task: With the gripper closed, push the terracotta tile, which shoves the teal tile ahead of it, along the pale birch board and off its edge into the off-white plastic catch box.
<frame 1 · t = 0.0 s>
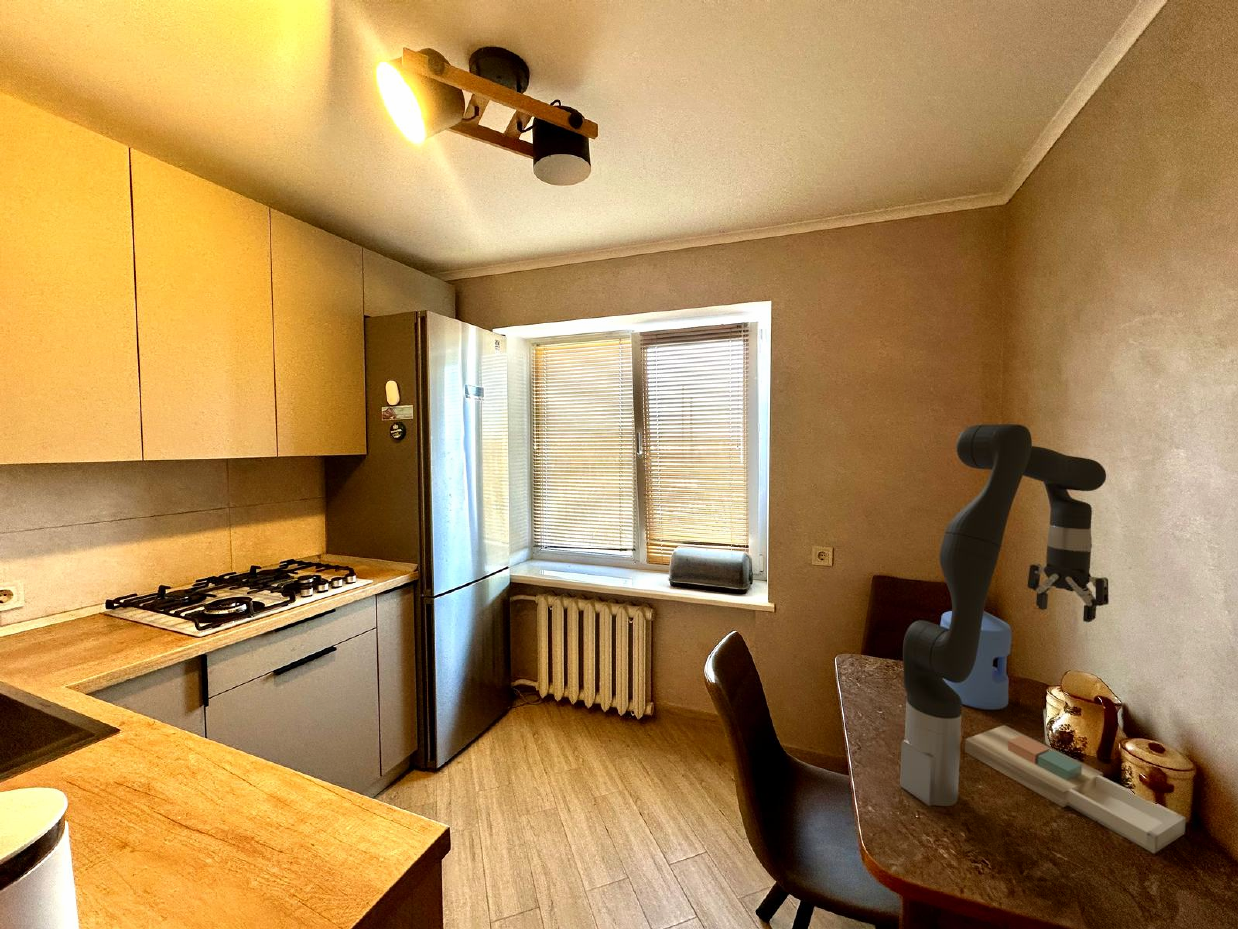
hand: (1064, 615, 115), 29 cm above the table, fingers open, 8 cm apart
catch box: (1123, 819, 92), on the table
teal tile: (1059, 769, 101), point 3 cm above the table, touching birch board
birch board: (1029, 768, 105), on the table
water jug: (971, 696, 135), on the table
terracotta tile: (1028, 753, 106), point 3 cm above the table, touching birch board
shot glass: (1061, 746, 114), on the table
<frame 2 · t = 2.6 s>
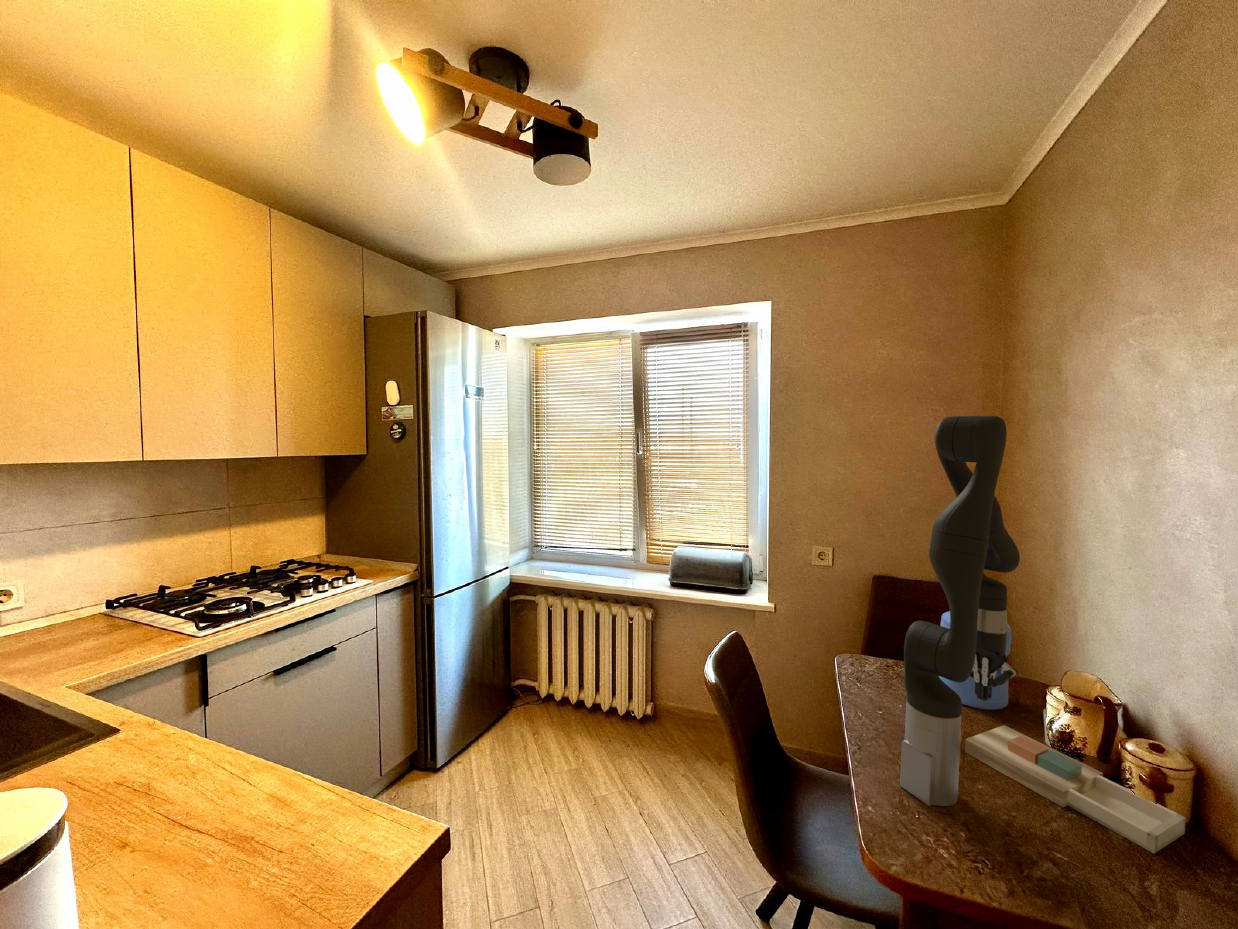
hand: (983, 699, 114), 10 cm above the table, fingers closed
nothing on the table moved.
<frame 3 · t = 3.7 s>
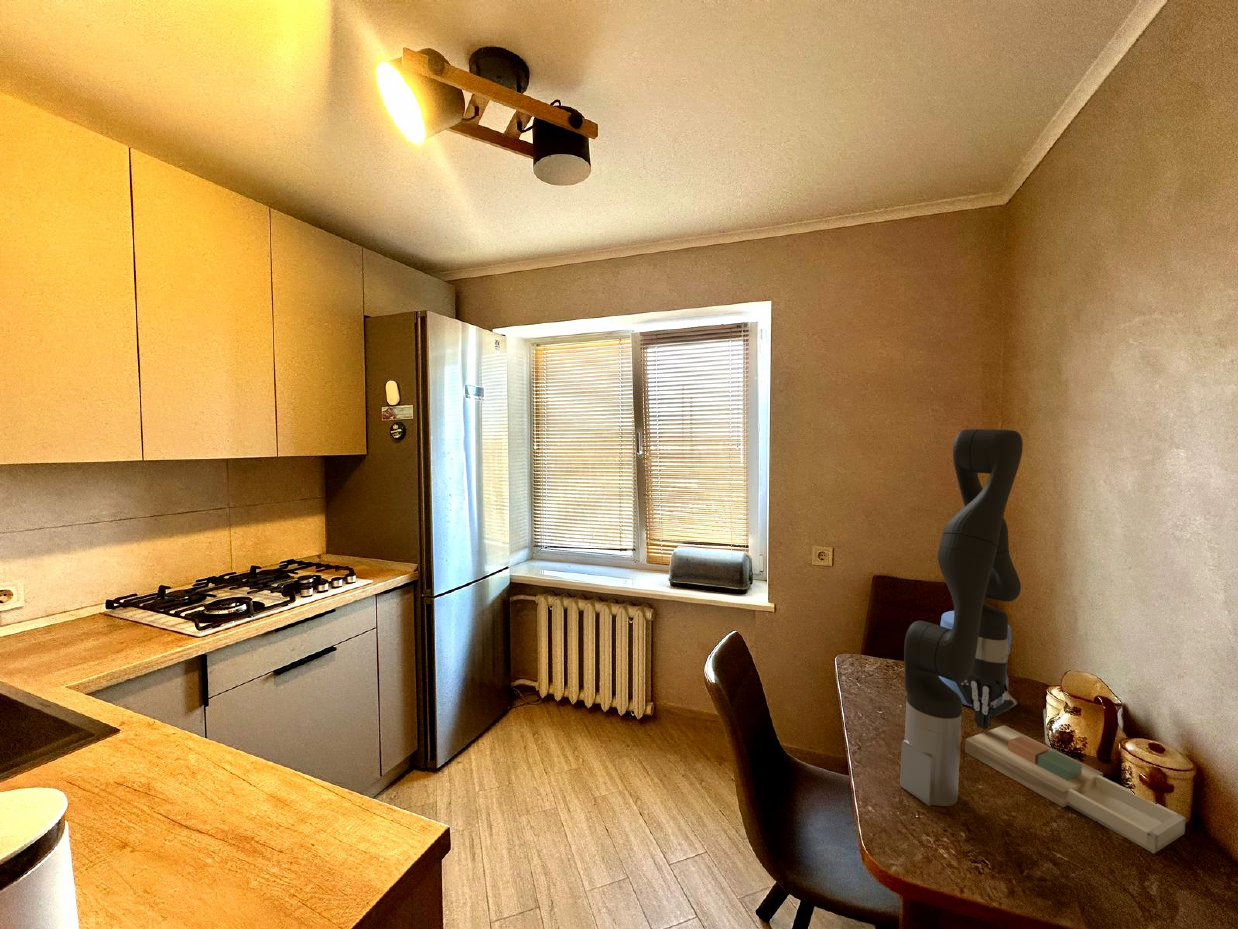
hand: (983, 727, 114), 4 cm above the table, fingers closed
nothing on the table moved.
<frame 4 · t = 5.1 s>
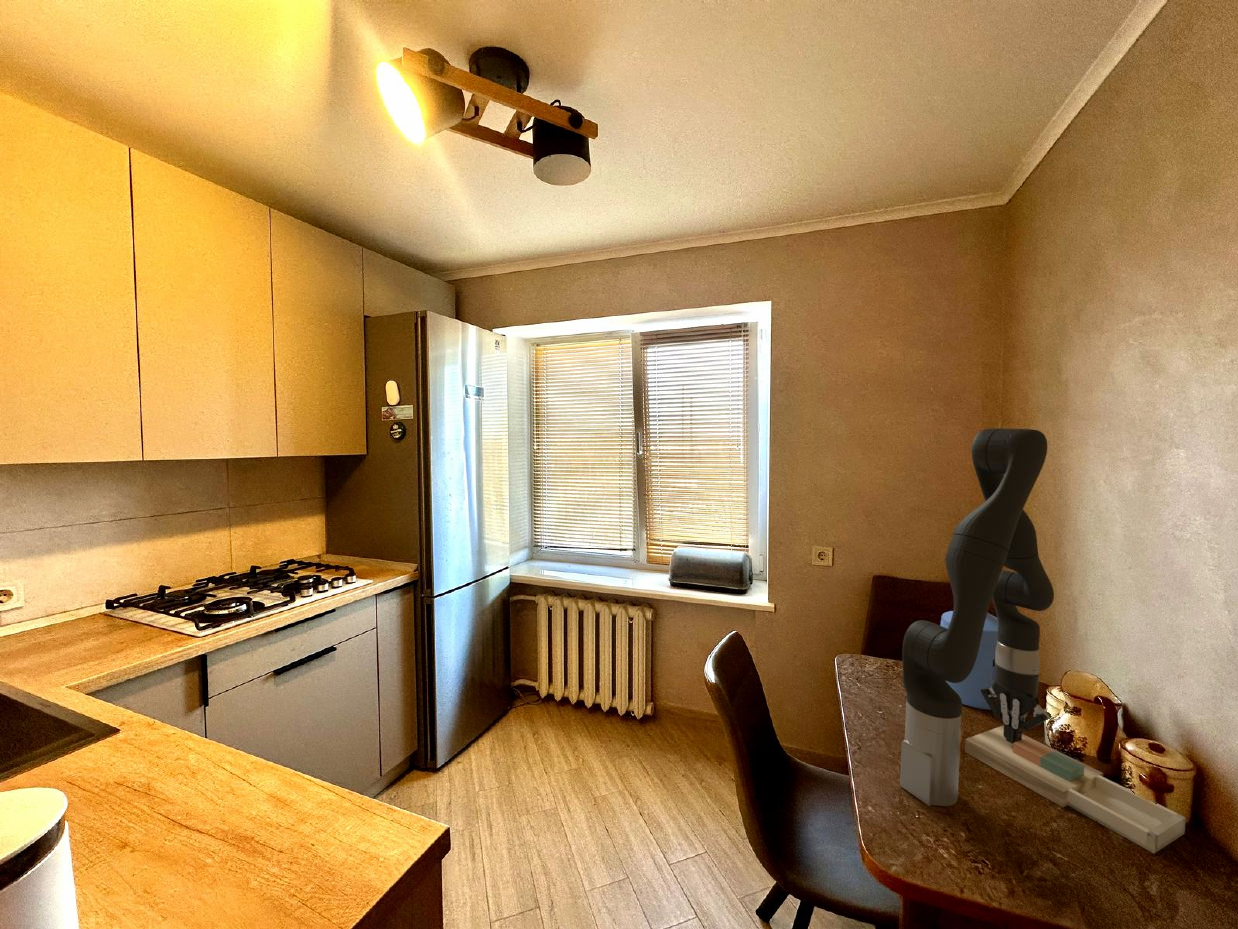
hand: (1012, 742, 108), 4 cm above the table, fingers closed
teal tile: (1061, 771, 100), point 3 cm above the table
terracotta tile: (1033, 756, 105), point 3 cm above the table, touching birch board, gripper
everything else where it was.
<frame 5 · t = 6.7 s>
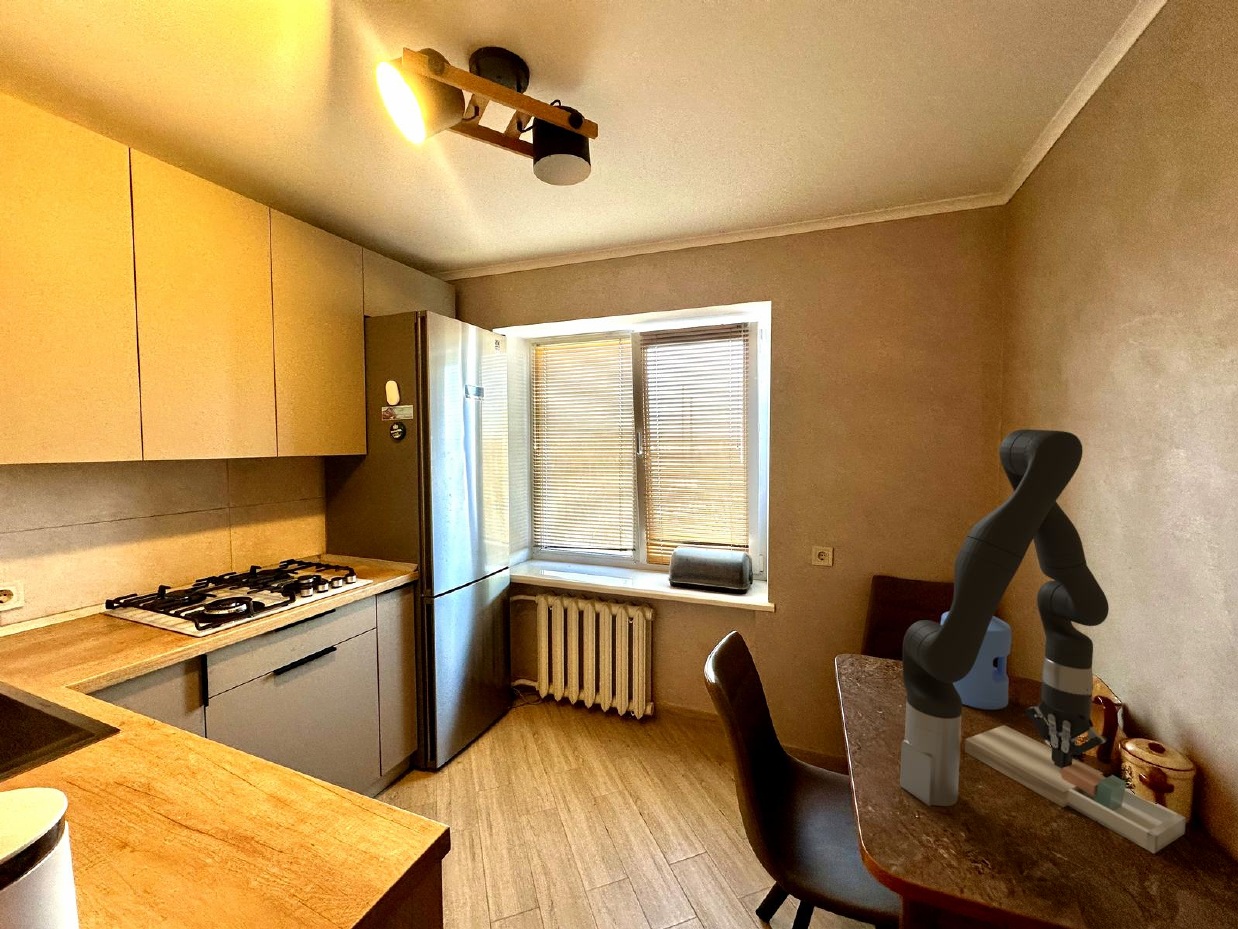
hand: (1061, 766, 100), 4 cm above the table, fingers closed
teal tile: (1103, 790, 94), point 3 cm above the table, tilted 95°, touching terracotta tile
terracotta tile: (1084, 783, 97), point 3 cm above the table, touching gripper, teal tile
everything else where it was.
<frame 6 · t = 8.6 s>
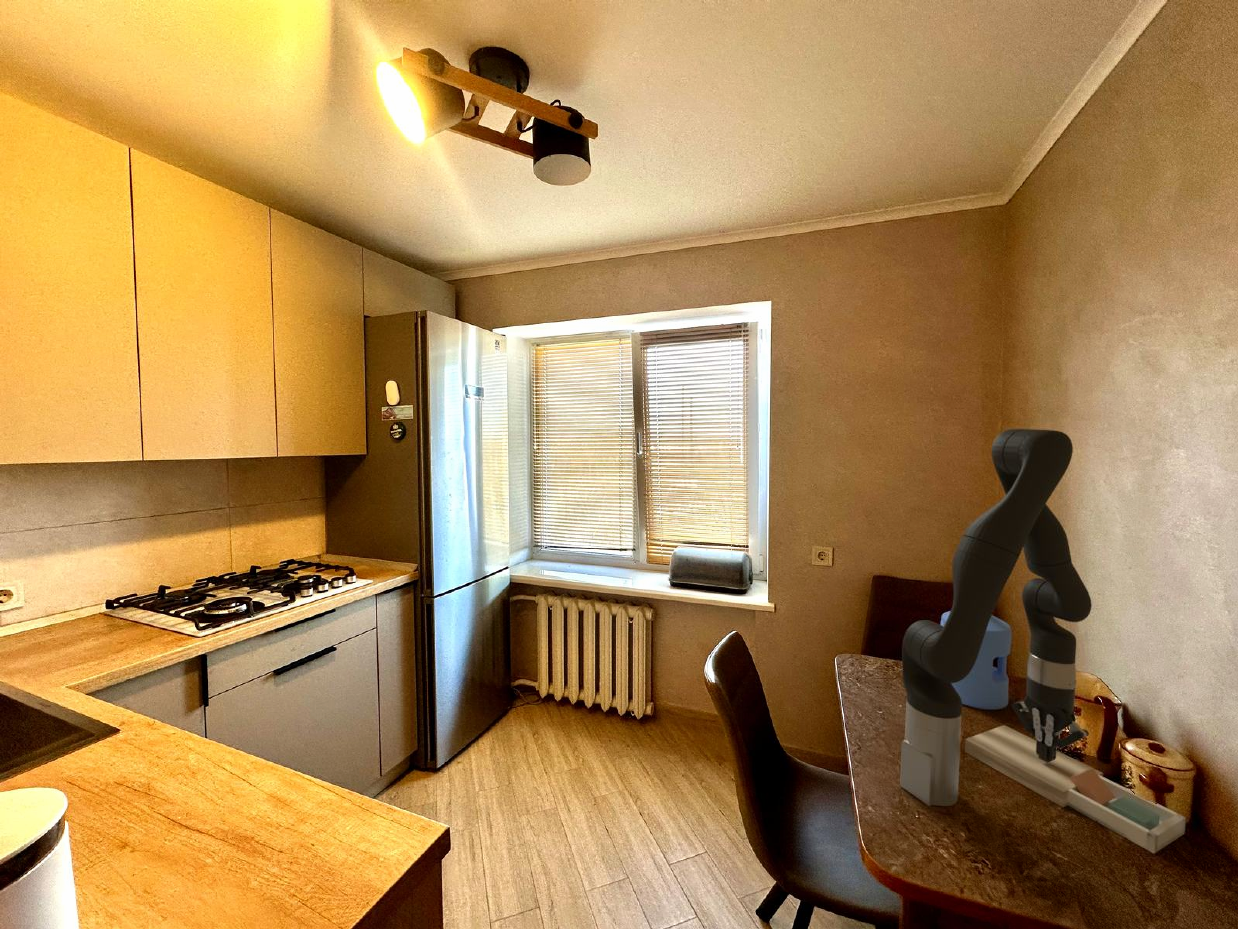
hand: (1045, 759, 103), 4 cm above the table, fingers closed
teal tile: (1133, 809, 90), point 3 cm above the table, tilted 180°, touching catch box
terracotta tile: (1087, 788, 96), point 2 cm above the table, tilted 44°, touching birch board, catch box
everything else where it was.
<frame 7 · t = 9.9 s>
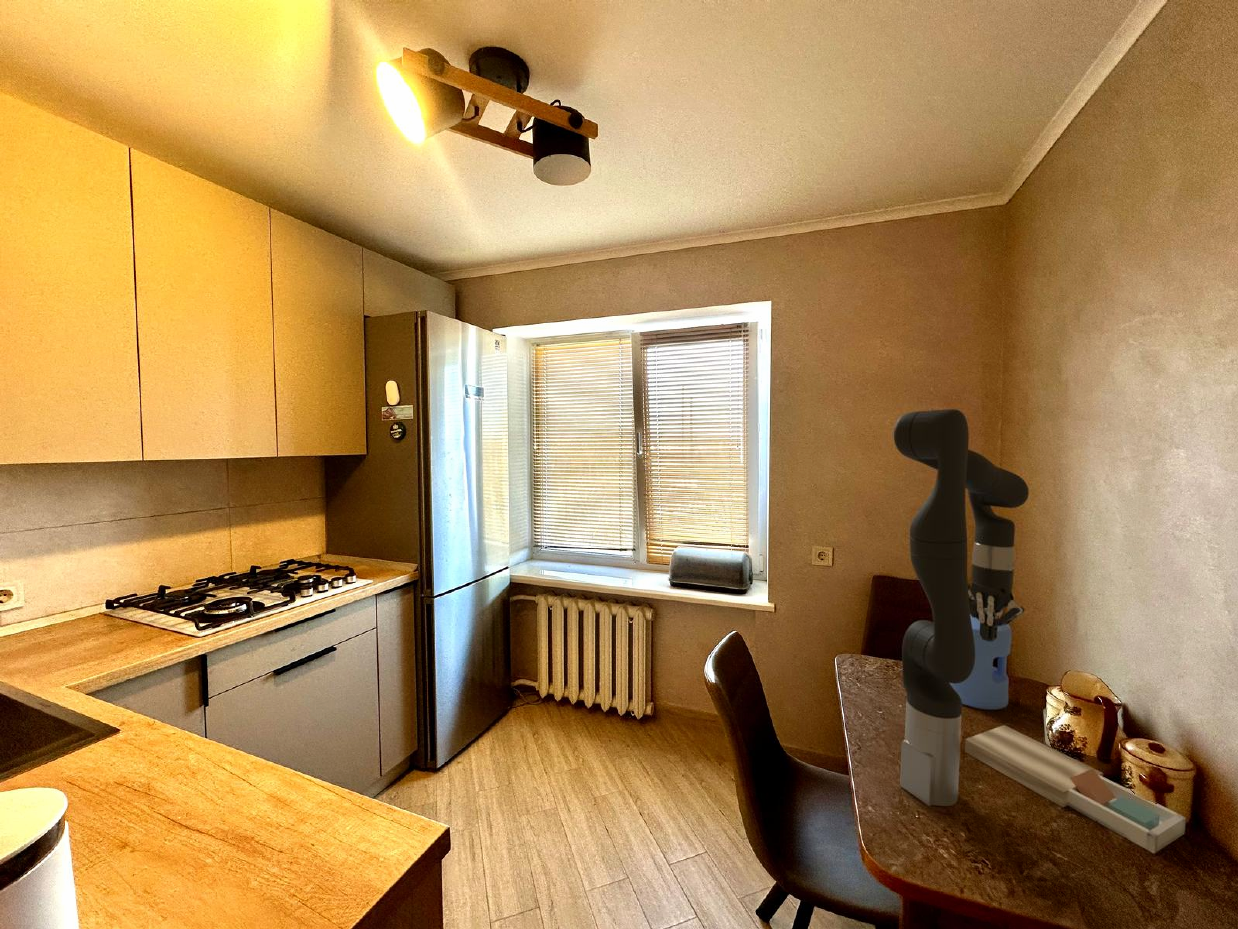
hand: (988, 640, 111), 25 cm above the table, fingers closed
nothing on the table moved.
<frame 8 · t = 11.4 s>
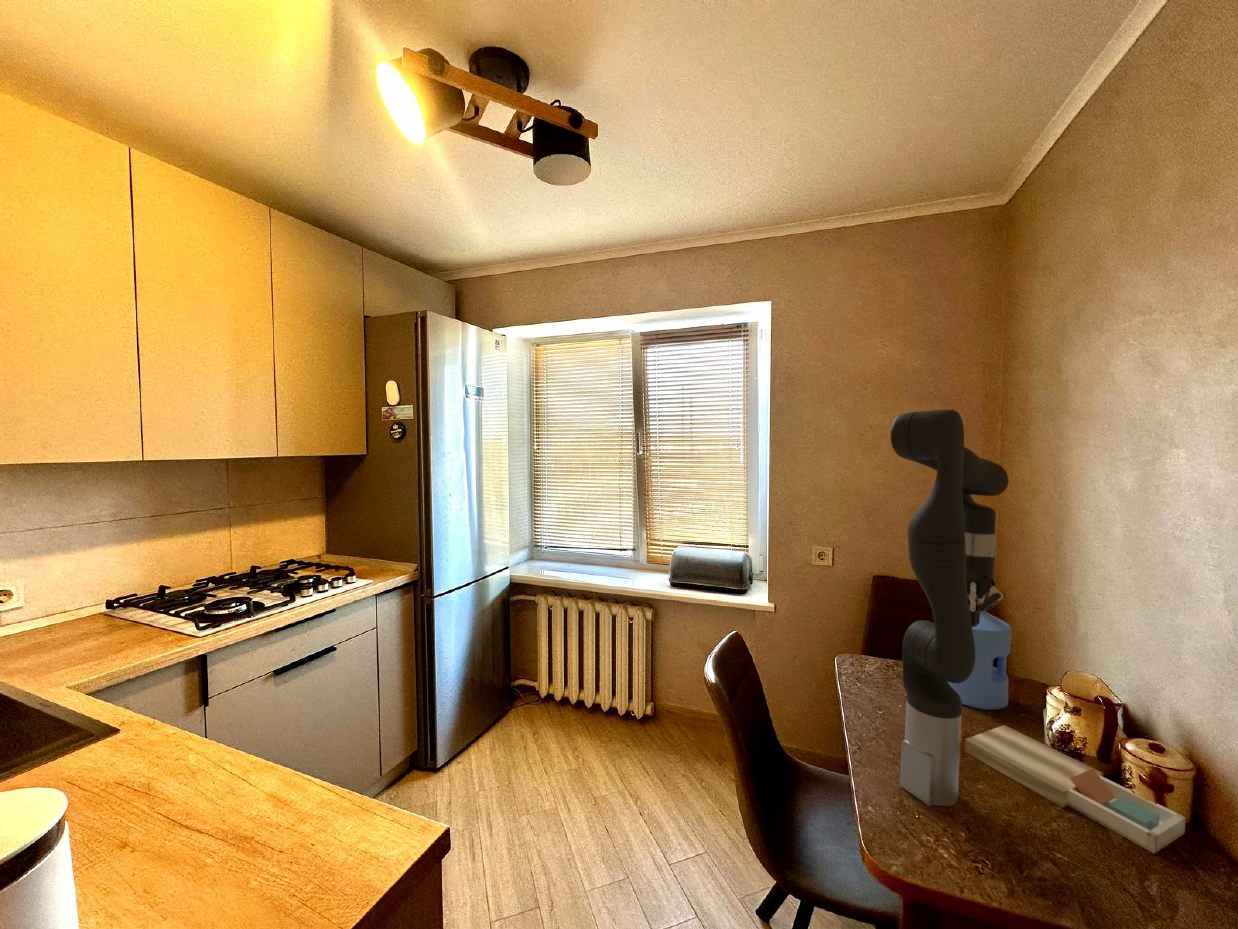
hand: (970, 625, 114), 27 cm above the table, fingers closed
nothing on the table moved.
at the end: teal tile inside the target area (1.0 cm from its centre), point 2.6 cm above the table; terracotta tile inside the target area (5.6 cm from its centre), point 2.3 cm above the table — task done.
